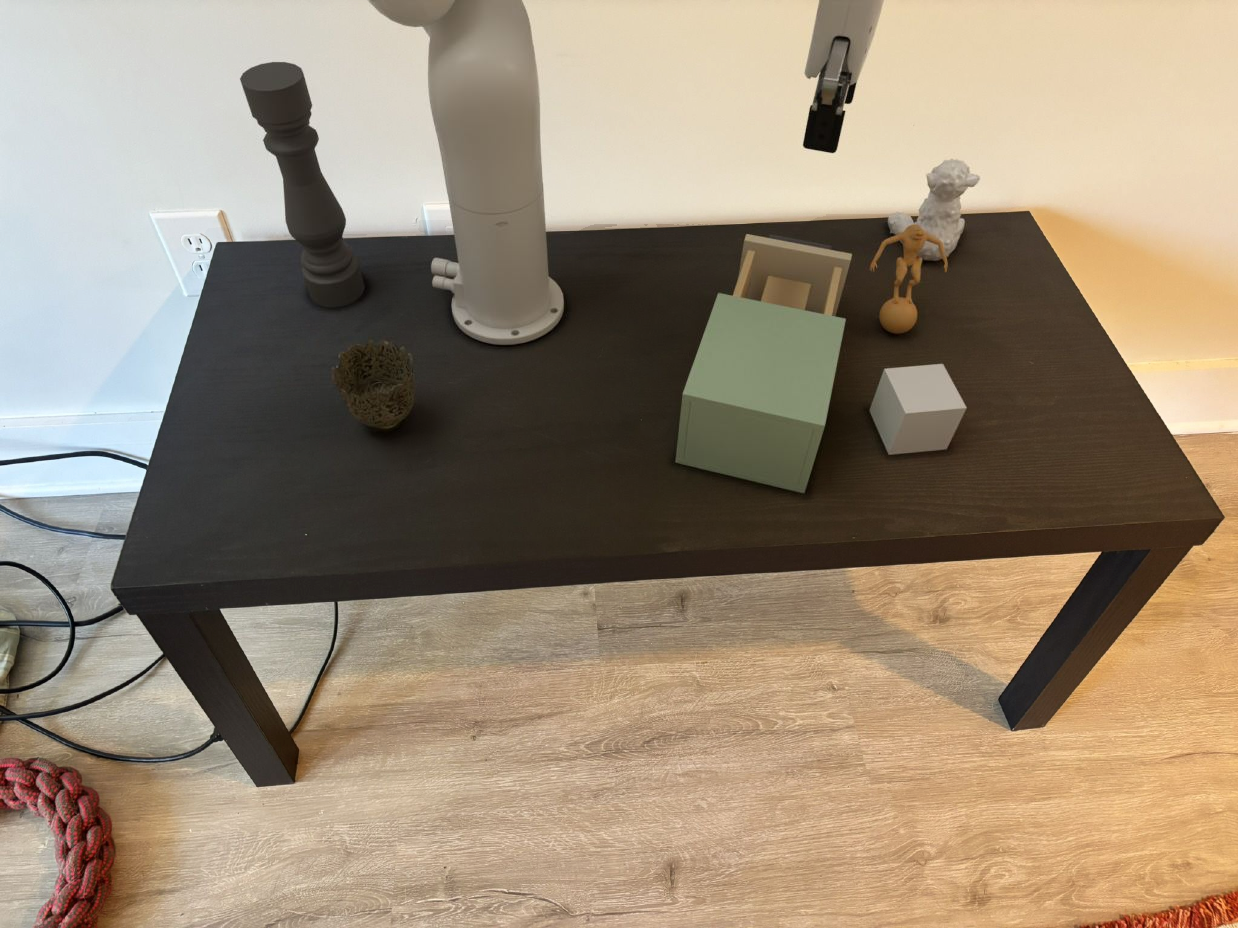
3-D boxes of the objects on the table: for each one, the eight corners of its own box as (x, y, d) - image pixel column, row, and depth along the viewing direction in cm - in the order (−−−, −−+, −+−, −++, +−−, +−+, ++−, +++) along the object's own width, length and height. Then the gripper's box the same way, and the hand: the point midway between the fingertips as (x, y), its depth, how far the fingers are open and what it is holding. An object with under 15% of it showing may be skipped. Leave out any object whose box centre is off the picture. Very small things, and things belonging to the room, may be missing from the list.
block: (754, 335, 91) (760, 302, 87) (762, 309, 94) (768, 275, 90) (796, 344, 90) (804, 311, 87) (803, 317, 93) (811, 284, 89)
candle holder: (375, 285, 98) (320, 72, 79) (337, 314, 95) (270, 99, 76) (336, 267, 100) (273, 54, 81) (298, 295, 97) (222, 80, 78)
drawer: (744, 268, 100) (753, 211, 94) (841, 287, 98) (857, 230, 92) (711, 369, 89) (719, 311, 83) (819, 392, 87) (835, 335, 81)
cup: (410, 457, 82) (394, 400, 76) (338, 445, 83) (317, 387, 77) (436, 402, 86) (423, 344, 80) (368, 391, 87) (350, 333, 81)
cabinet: (708, 363, 91) (718, 292, 83) (825, 388, 89) (846, 318, 81) (675, 462, 82) (682, 393, 75) (804, 493, 80) (825, 425, 72)
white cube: (924, 405, 87) (943, 363, 83) (946, 449, 84) (967, 407, 79) (868, 410, 87) (884, 368, 82) (888, 455, 83) (905, 413, 78)
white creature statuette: (960, 228, 107) (994, 140, 98) (972, 270, 102) (1009, 182, 93) (885, 223, 108) (912, 135, 98) (893, 265, 102) (922, 176, 93)
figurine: (860, 341, 94) (888, 251, 84) (850, 305, 97) (876, 215, 88) (934, 341, 94) (971, 251, 84) (921, 306, 98) (955, 216, 88)
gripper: (840, -110, 76) (806, 78, 89) (804, -38, 65) (772, 163, 79) (925, -100, 74) (878, 90, 88) (903, -25, 64) (853, 177, 77)
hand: (828, 124), depth 83 cm, fingers open, 9 cm apart
